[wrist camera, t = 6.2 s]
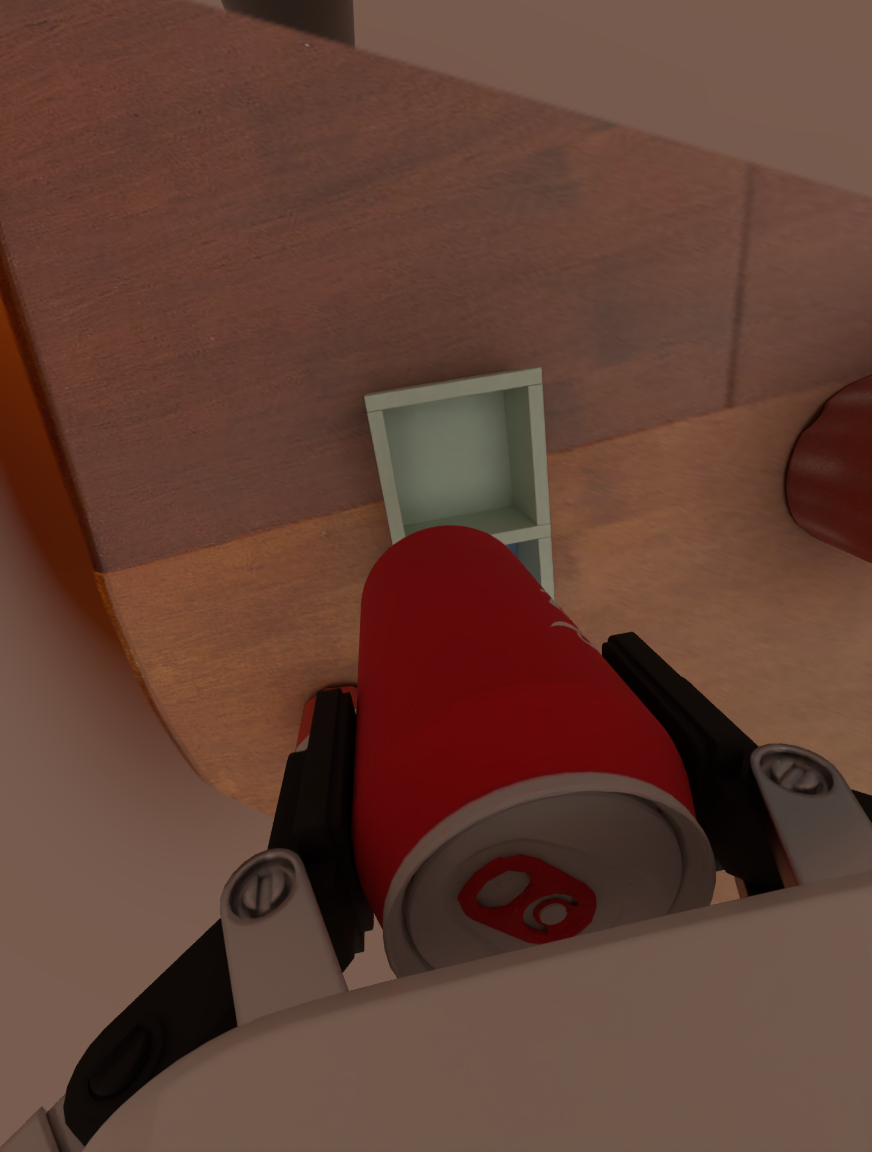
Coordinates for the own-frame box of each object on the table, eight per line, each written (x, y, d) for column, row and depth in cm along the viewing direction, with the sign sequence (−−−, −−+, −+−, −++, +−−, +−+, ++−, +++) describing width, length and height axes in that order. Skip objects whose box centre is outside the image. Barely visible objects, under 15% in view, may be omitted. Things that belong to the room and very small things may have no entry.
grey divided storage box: (364, 393, 29) (363, 396, 24) (512, 369, 30) (541, 367, 24) (412, 641, 36) (419, 685, 31) (531, 618, 36) (558, 657, 31)
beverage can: (452, 693, 20) (552, 1077, 9) (328, 613, 18) (256, 981, 7) (556, 582, 19) (824, 870, 8) (433, 483, 17) (557, 675, 6)
